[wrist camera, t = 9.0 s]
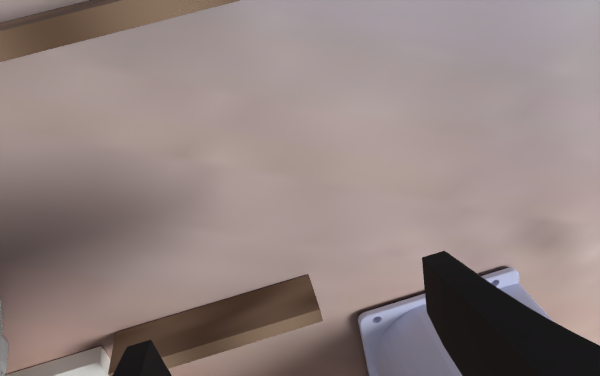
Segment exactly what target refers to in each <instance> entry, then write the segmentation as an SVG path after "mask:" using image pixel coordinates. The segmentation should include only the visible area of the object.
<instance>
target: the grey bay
mask: <svg viewBox="0 0 600 376" xmlns="http://www.w3.org/2000/svg"><path fill="white" fill-rule="evenodd" d="M110 361H111V360H110V358H109V357H108V355H107V354H106V352H105V351H104V349H103V348H102V346H100V347H96V348H93V349H90V350H86V351H83V352H80V353H76V354H73V355H70V356H67V357H63V358H60V359H57V360H53V361H50V362H47V363H43V364H40V365H37V366H33V367H30V368H27V369H23V370H20V371H17V372H13V373H10V374H7V375H5V376H109V375H108V371H109V366H110Z"/></svg>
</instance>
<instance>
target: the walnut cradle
mask: <svg viewBox="0 0 600 376" xmlns="http://www.w3.org/2000/svg"><path fill="white" fill-rule="evenodd" d="M236 1H239V0H90V1H86V2H82V3H78V4H74V5H70V6H66V7H62V8H58V9H54V10H50V11H46V12H42V13H38V14H34V15H30V16H26V17H22V18H18V19H14V20H10V21H6V22H2V23H0V62H2V61H6V60H10V59H13V58H17V57H21V56H25V55H29V54H33V53H37V52H41V51H45V50H49V49H52V48H56V47H60V46H64V45H68V44H72V43H76V42H80V41H84V40H87V39H91V38H95V37H99V36H103V35H107V34H111V33H115V32H119V31H123V30H126V29H130V28H134V27H138V26H142V25H146V24H150V23H154V22H158V21H162V20H165V19H169V18H173V17H177V16H181V15H185V14H189V13H193V12H197V11H200V10H204V9H208V8H212V7H216V6H220V5H224V4H228V3H232V2H236ZM321 321H323V320H322V316H321V312H320V308H319V305H318V302H317V299H316V296H315V293H314V290H313V287H312V284H311V281H310V278H309V275H305V276H302V277H298V278H295V279H292V280H288V281H285V282H282V283H278V284H275V285H272V286H268V287H265V288H262V289H258V290H255V291H252V292H248V293H245V294H242V295H238V296H235V297H232V298H228V299H225V300H222V301H218V302H215V303H212V304H208V305H205V306H202V307H198V308H195V309H192V310H188V311H185V312H182V313H178V314H175V315H172V316H168V317H165V318H162V319H158V320H155V321H152V322H148V323H145V324H142V325H138V326H135V327H132V328H128V329H125V330H122V331H118V332H116V334H115V340H114V345H113V350H112V356H111V361H110V366H109V371H108V375H109V376H112V375H113V373H114V371H115V369H116V367H117V365H118V363H119V361H120V359H121V357H122V355H123V353H124V351H125V350H126V348H127V347H128V346H131V345H134V344H138V343H141V342H144V341H148V340H152V342H153V344H154V346H155V347H156V349H157V351H158V353H159V354H160V356H161V358H162V360H163V362H164V363H165V365H166V367H167V369H168V368H172V367H175V366H178V365H181V364H185V363H188V362H191V361H194V360H198V359H201V358H204V357H207V356H211V355H214V354H217V353H220V352H224V351H227V350H230V349H233V348H237V347H240V346H243V345H246V344H250V343H253V342H256V341H259V340H263V339H266V338H269V337H272V336H276V335H279V334H282V333H285V332H289V331H292V330H295V329H298V328H302V327H305V326H308V325H311V324H315V323H318V322H321Z"/></svg>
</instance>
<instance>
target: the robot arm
mask: <svg viewBox="0 0 600 376" xmlns="http://www.w3.org/2000/svg"><path fill="white" fill-rule="evenodd" d="M422 262H423V274H424V286H425V294H422V295H418V296H415V297H412V298H409V299H405V300H402V301H399V302H396V303H392V304H389V305H386V306H383V307H379V308H376V309H373V310H370V311H366V312H364V313H362V314H361V315H360V316H359V317H358V324H359V329H360V334H361V339H362V344H363V349H364V354H365V359H366V364H367V369H368V374H369V376H600V346H599V345H597V344H595V343H593V342H591V341H589V340H587V339H585V338H583V337H581V336H579V335H577V334H575V333H573V332H571V331H570V330H568V329H566V328H564V327H562V326H560V325H558V324H557V323H555V322H554V321H553V320H552V319H551V318H550V317H549V316H548V315H547V314H546V313H545V311H544V310H543V309H542V308H541V307H540V306H539V305H538V304H537V303H536V302H535V300H534V299H533V298H532V297H531V296H530V295H529V294H528V293H527V292H526V291H525V289H524V288H523V287H522V286H521V285H520V284H519V273H518V271H517V270H516V269H515V268H512V267H510V268H506V269H503V270H499V271H496V272H493V273H490V274H486V275H483V276H480V275H478V274H477V273H475V272H474V271H472V270H471V269H470V268H468V267H467V266H465V265H464V264H463V263H461V262H460V261H458V260H457V259H456V258H454V257H453V256H451V255H450V254H449V253H447V252H445V251H442V252H439V253H436V254H432V255H429V256H426V257H423V258H422ZM375 317H376V318H375ZM112 376H171V374H170V372H169V370H168V369H167V367H166V365H165V363H164V362H163V360H162V358H161V356H160V354H159V353H158V351H157V349H156V347H155V346H154V344H153V342H152V340H148V341H144V342H141V343H138V344H134V345H131V346H128V347H127V348H126V350H125V351H124V353H123V355H122V357H121V359H120V361H119V363H118V365H117V367H116V369H115V371H114V373H113V375H112Z"/></svg>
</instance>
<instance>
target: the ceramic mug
mask: <svg viewBox="0 0 600 376" xmlns="http://www.w3.org/2000/svg"><path fill="white" fill-rule="evenodd" d="M2 319H3V314H2V307H1V298H0V376H5V373H6V369H7V359H8V350H9V346H8V341H7V339H6V338H5V337H4V336H3V335H2V330H3V327H2Z"/></svg>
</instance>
